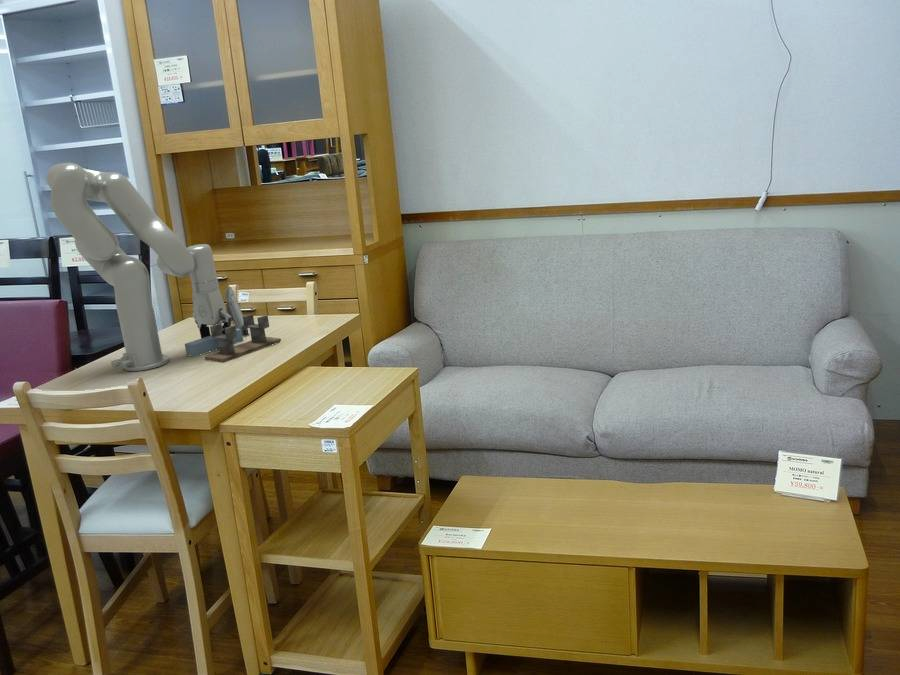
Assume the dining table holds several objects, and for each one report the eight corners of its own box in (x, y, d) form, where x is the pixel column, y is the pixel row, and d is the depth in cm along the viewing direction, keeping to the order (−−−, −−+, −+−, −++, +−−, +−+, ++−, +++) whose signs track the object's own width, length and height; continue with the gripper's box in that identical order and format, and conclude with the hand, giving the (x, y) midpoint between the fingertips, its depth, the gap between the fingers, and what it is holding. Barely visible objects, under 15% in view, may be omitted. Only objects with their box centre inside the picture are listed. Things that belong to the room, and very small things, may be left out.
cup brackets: (222, 362, 229) (217, 331, 226) (205, 359, 233) (199, 329, 231) (281, 341, 245) (276, 312, 243) (263, 339, 250) (259, 311, 248)
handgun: (253, 361, 264) (249, 322, 255) (243, 363, 263) (239, 324, 254) (234, 313, 287) (229, 276, 279) (225, 314, 286) (220, 277, 278)
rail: (195, 358, 238) (192, 345, 237) (186, 356, 240) (184, 343, 239) (243, 341, 251) (241, 329, 250) (235, 340, 254) (233, 328, 253)
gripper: (177, 288, 243) (188, 342, 248) (213, 290, 233) (224, 347, 237) (198, 282, 249) (208, 335, 253) (234, 284, 239) (244, 339, 243)
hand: (216, 341), depth 245 cm, fingers open, 9 cm apart
